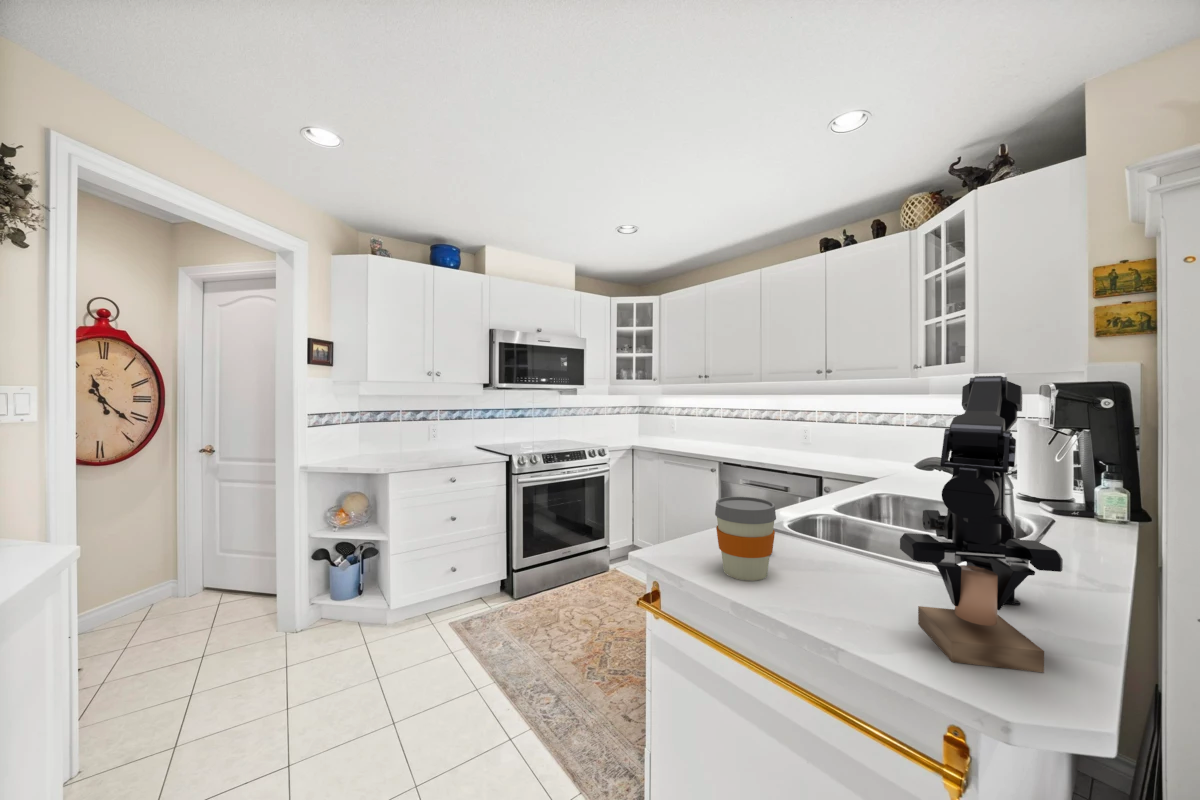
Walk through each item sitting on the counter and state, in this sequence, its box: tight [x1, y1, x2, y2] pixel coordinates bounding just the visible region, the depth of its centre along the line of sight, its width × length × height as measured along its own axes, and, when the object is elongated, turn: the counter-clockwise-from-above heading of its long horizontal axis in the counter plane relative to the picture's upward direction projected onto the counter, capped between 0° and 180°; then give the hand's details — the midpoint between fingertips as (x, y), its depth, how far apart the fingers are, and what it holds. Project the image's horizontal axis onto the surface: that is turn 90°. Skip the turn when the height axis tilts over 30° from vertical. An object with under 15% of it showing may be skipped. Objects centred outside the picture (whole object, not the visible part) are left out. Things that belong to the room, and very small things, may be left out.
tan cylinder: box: [954, 564, 998, 626], centre depth 69 cm, size 5×5×7 cm
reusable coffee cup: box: [714, 496, 777, 582], centre depth 99 cm, size 13×13×15 cm
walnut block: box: [917, 605, 1045, 673], centre depth 70 cm, size 11×11×3 cm
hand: (975, 606), depth 70 cm, fingers closed on tan cylinder, 5 cm apart
